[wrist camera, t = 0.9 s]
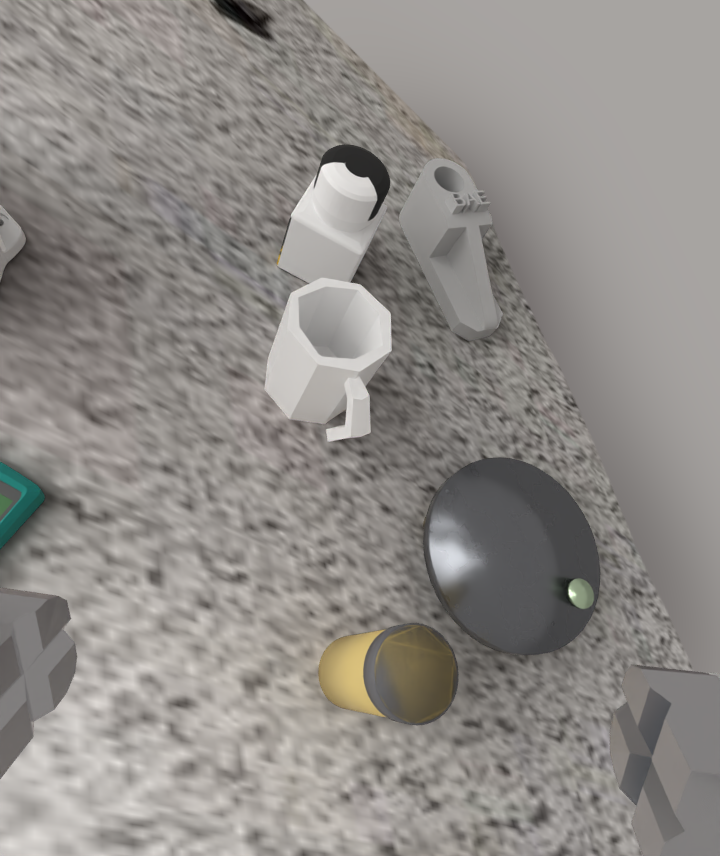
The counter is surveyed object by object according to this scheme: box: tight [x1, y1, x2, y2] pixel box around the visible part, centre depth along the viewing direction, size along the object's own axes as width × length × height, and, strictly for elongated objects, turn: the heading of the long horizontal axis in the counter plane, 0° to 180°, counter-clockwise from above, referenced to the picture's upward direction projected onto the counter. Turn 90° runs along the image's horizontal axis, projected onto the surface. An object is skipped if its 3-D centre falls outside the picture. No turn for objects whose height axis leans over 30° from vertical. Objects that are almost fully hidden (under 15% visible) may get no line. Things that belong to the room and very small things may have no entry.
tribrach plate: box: [423, 458, 600, 655], centre depth 47 cm, size 16×16×4 cm
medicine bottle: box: [277, 145, 390, 284], centre depth 50 cm, size 7×7×12 cm
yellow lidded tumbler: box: [319, 623, 458, 725], centre depth 36 cm, size 5×5×12 cm
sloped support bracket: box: [399, 158, 503, 341], centre depth 57 cm, size 6×18×8 cm, turn 23°
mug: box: [265, 277, 392, 442], centre depth 45 cm, size 12×9×10 cm
